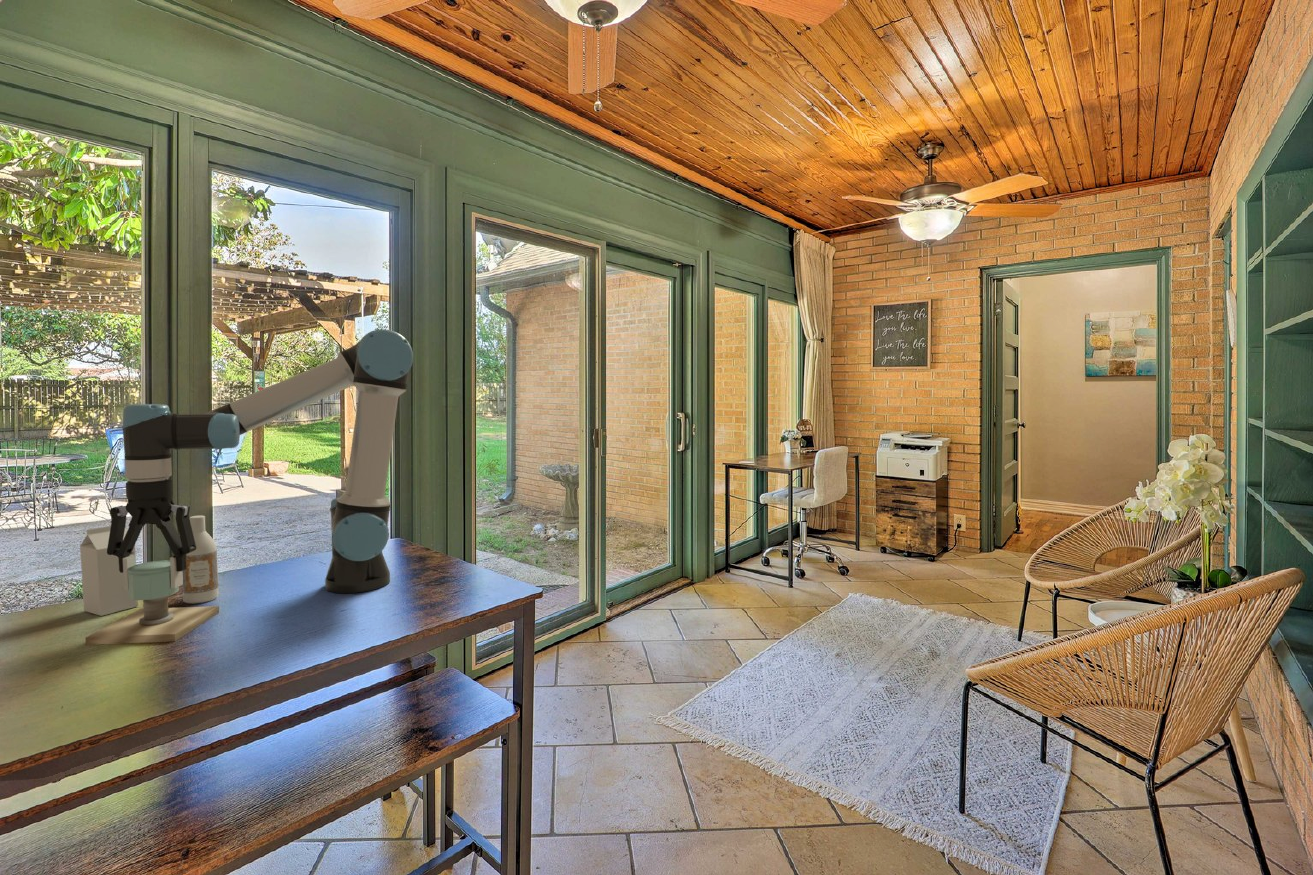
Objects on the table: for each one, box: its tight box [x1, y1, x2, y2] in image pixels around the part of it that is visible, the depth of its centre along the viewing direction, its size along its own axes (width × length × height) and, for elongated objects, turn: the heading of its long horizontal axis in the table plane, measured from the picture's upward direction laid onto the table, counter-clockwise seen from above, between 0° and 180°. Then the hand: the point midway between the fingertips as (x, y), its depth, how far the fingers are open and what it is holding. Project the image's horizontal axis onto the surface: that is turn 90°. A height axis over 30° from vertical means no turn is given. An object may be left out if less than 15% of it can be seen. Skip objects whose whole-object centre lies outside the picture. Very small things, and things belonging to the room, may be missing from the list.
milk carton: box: [79, 524, 139, 617], centre depth 142 cm, size 7×7×19 cm
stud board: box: [84, 596, 220, 646], centre depth 132 cm, size 16×16×12 cm
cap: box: [128, 559, 180, 601], centre depth 131 cm, size 8×8×6 cm
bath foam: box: [181, 515, 220, 605], centre depth 149 cm, size 7×7×20 cm
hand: (154, 586), depth 131 cm, fingers closed on cap, 8 cm apart
